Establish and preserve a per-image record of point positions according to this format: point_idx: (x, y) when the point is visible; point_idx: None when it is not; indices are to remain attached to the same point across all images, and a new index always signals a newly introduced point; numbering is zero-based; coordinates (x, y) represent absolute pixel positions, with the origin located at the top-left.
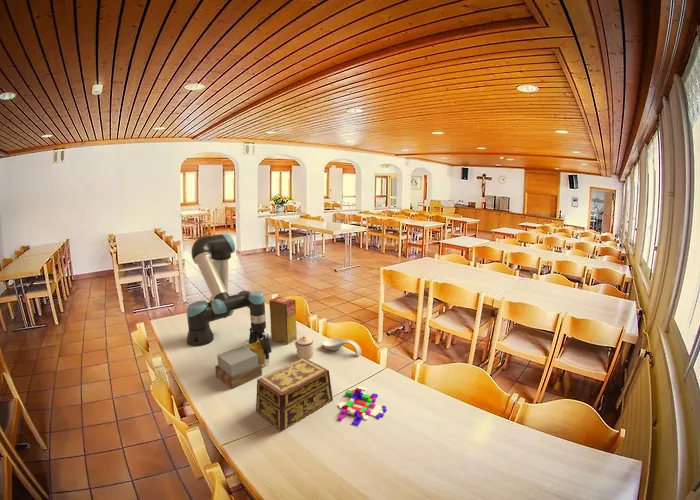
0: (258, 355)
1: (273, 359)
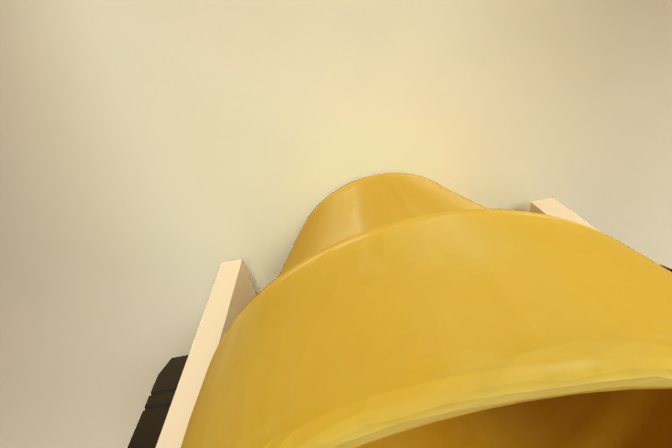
0: (554, 440)
1: (447, 63)
